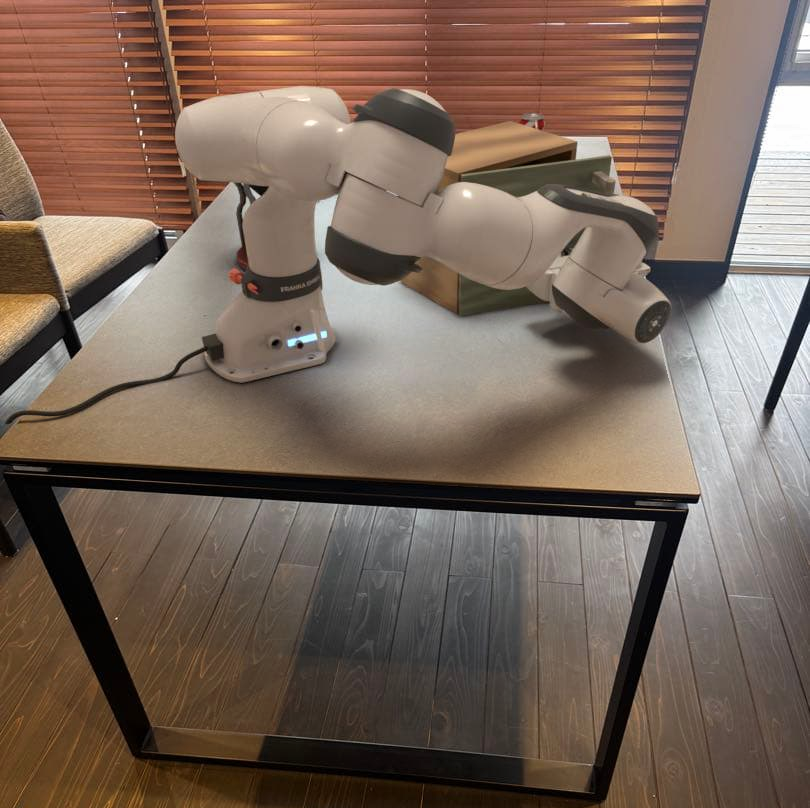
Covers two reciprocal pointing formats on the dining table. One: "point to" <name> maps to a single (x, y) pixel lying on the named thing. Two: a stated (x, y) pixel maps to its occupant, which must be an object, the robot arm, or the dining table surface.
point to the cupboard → (480, 154)
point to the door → (522, 183)
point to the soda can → (533, 121)
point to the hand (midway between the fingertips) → (561, 253)
